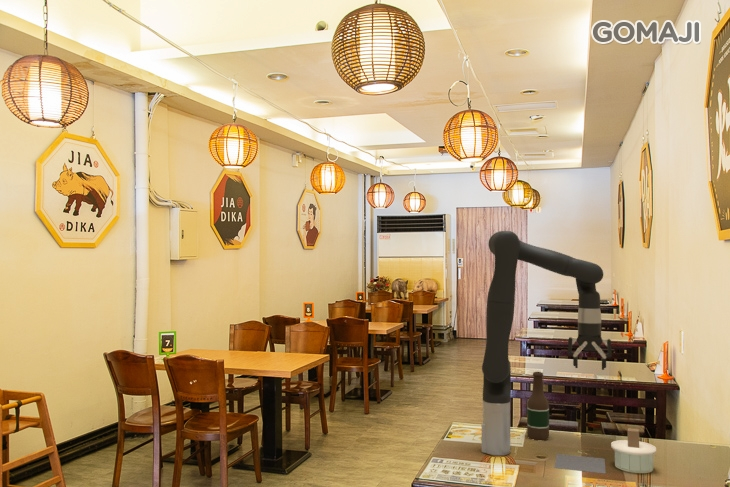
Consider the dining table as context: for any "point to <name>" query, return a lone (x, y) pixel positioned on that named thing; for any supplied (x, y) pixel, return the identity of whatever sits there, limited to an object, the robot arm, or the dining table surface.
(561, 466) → the mat
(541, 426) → the beer bottle
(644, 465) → the bowl
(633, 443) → the lid
